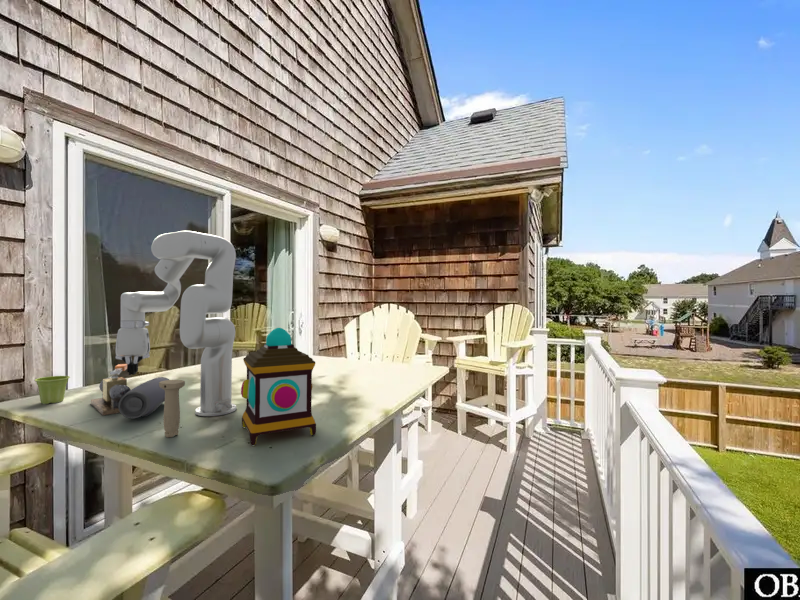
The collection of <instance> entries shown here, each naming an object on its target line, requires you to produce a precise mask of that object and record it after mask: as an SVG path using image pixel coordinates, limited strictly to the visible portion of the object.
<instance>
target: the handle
mask: <svg viewBox="0 0 800 600" xmlns="http://www.w3.org/2000/svg"><path fill="white" fill-rule="evenodd" d="M185 385H186V381H185V380H181V379H169V380H165V381H161V382H159V387H160V388H162V389H164V390H165V401H164V402H163V403H164V405H163V430H164V436H165V437H166V438H174V437H173V436H175V435H177V436H178V435H179V432H180V430H179V429H180V422H181V407H180V390H181V389H182V388H183V387H185ZM175 437H176V436H175Z"/></svg>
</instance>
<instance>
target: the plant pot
mask: <svg viewBox="0 0 800 600" xmlns="http://www.w3.org/2000/svg"><path fill="white" fill-rule="evenodd" d="M70 378H71V377H70V375H54V376H53V375H51V376H50V375H49V376H44V377H38V378H36V379H34V381H35V382H36V385H37V387H38V393H39V401H40V403H41V404H42V405H43V404H44V405H45V404H46V405H47V404H48V405H49V404H51V403H52V404H57V403H61V402H63V401H64V398H65V395H66V389H67V383H68V382H69V379H70Z"/></svg>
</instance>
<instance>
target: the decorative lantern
mask: <svg viewBox="0 0 800 600" xmlns="http://www.w3.org/2000/svg"><path fill="white" fill-rule="evenodd" d="M243 363H244V365H245V366H246V379H245V380H243V382H242V384H241V389H240V395H241V397H242V398H243V399H246V406H245V410H244V412H243V414H242V416H241V427H242V428H243V427H246V428H245V429H246V430H247V432H248V433H249V441H250V442H249V443H250V445H251V446H252V445H255V444H257V439H258V437H259V436H262V435H270V434H274V433H275V434H276V433H281V432H287V431H293V430H295V431H296V430H299V429H304V428H305V429H306V428H309V433H310V436H311V435H314V436H315V435H316V433H317V423H316V421H315V419H314V416H313V415H312V414H313V413H312V399H313V398H312V393H313V391H312V390H313V383H312V380H313V379H312V376H313V375H312V374H313V370H314V368H315V366H316V361H315V360H314V359H313V358H312V357H310V355H309V354H306V353H304V352H302V351H300V350H298V348H297V347H295V345H294V344H292V337H291V335H290V333H289V332H288V331H287V330H286V329H284V328H281V327H276V328H274V329H272V330H271V331H270V332H269V333H268V334H267V336H266V338H265V343H263V346H261V347H259V349H256V351H251V352H249V354H247V355H246V356H245V357H243ZM255 446H256V445H255Z"/></svg>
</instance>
